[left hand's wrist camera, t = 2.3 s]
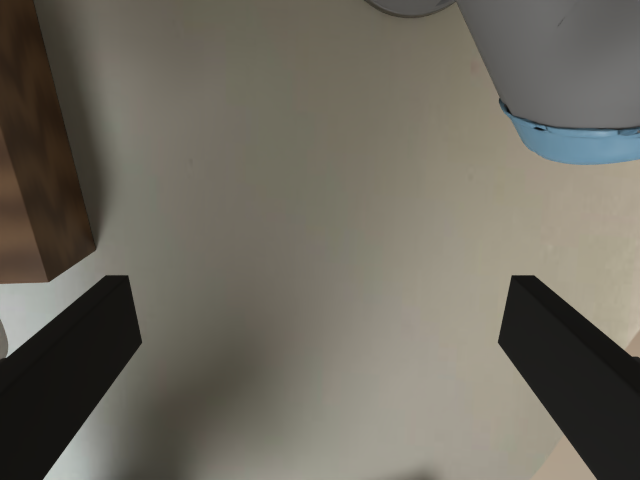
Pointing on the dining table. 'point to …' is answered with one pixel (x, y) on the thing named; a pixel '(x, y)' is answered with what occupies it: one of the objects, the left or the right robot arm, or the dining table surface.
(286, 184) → the dining table surface
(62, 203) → the bar
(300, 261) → the dining table surface
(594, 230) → the dining table surface
